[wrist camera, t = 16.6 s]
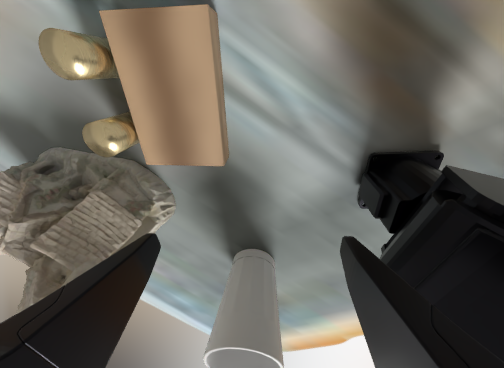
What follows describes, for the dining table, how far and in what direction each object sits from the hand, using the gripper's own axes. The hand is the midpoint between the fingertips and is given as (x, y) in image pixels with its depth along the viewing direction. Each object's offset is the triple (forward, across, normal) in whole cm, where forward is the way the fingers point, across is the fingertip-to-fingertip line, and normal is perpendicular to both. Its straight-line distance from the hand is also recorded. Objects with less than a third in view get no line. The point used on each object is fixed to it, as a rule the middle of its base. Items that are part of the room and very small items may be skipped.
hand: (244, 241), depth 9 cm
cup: (+13, +2, +18) cm, 22 cm away
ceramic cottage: (+13, +20, +5) cm, 25 cm away
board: (+14, +7, -6) cm, 16 cm away
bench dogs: (+13, +13, -6) cm, 19 cm away
